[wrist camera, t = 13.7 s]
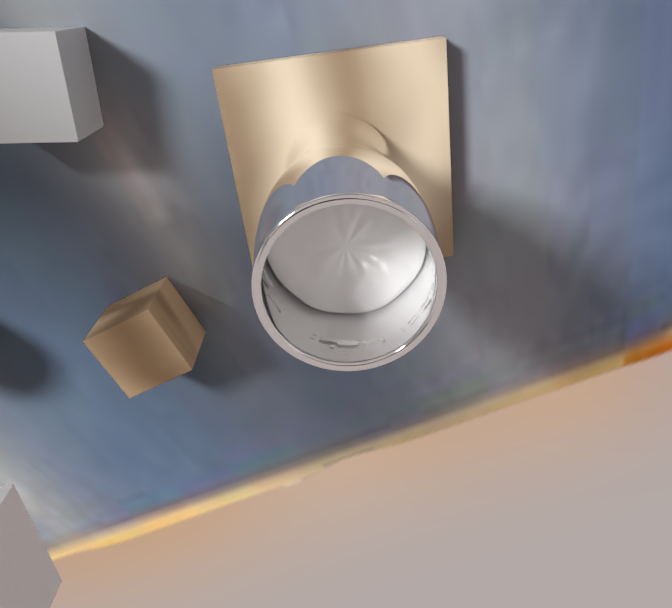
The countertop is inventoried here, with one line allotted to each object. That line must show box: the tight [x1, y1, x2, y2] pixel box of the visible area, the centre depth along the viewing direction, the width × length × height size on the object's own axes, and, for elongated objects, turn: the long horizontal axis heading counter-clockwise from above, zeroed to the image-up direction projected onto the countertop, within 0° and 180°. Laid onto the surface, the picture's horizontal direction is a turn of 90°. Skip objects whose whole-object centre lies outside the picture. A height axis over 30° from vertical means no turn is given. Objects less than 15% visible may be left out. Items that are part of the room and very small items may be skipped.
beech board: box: [212, 36, 454, 267], centre depth 34 cm, size 12×12×1 cm
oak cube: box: [83, 277, 206, 398], centre depth 37 cm, size 4×4×4 cm
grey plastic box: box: [0, 27, 104, 144], centre depth 30 cm, size 5×5×4 cm
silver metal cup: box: [251, 115, 447, 371], centre depth 27 cm, size 7×7×15 cm
